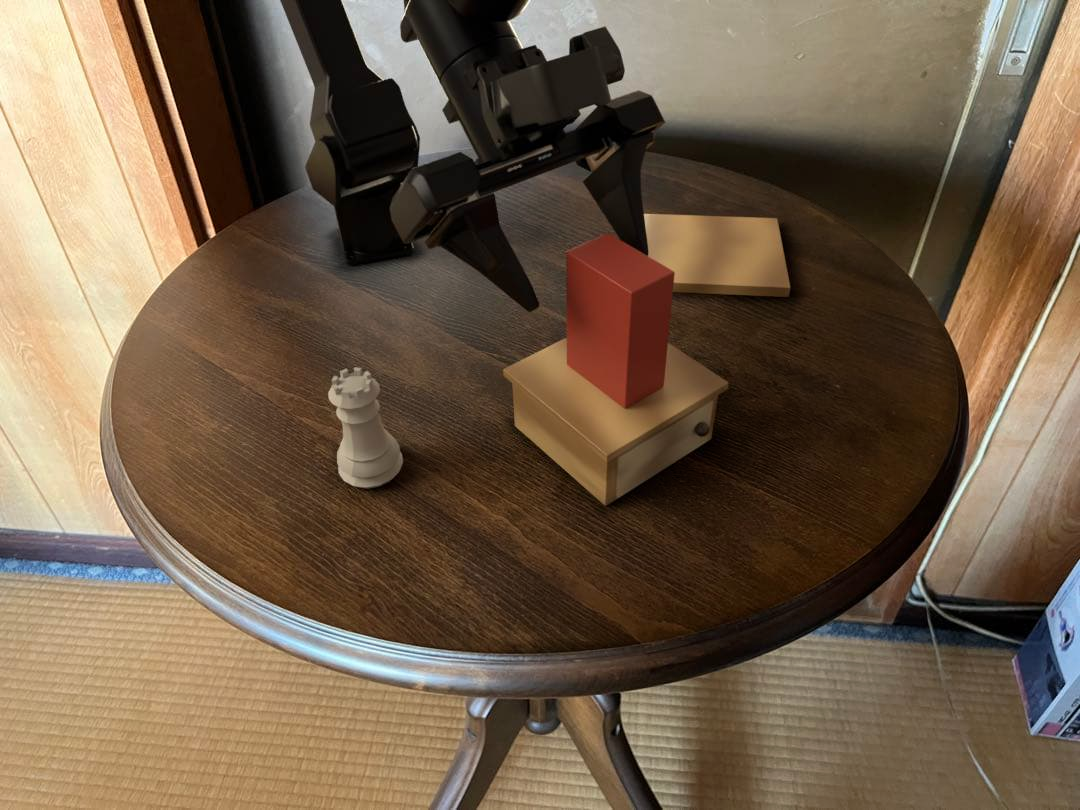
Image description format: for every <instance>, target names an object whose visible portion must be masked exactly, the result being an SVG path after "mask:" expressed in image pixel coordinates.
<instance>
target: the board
mask: <svg viewBox="0 0 1080 810" xmlns="http://www.w3.org/2000/svg"><path fill="white" fill-rule="evenodd" d="M644 219H645V227H646V235H647V243H648V250H649V254H648V257H650V258H652V259H654V260H655V261H657V262H659V263H660V264H662V265H664V266H665V267H667V268H669V269H671V270H672V271H674V272H675V275H674V285H673V293H683V294H684V293H685V294H707V295H710V294H711V295H731V296H733V295H734V296H753V297H777V298H789V297H790V293H791V282H790V278H789V277H790V276H789V272H788V267H787V261H786V257H785V252H784V247H783V246H784V245H783V241H782V236H781V231H780V225H779V221H778V218H777V217H752V216H749V217H748V216H723V215H721V216H719V215H695V214H691V215H690V214H666V213H665V214H664V213H662V214H661V213H644Z"/></svg>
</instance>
